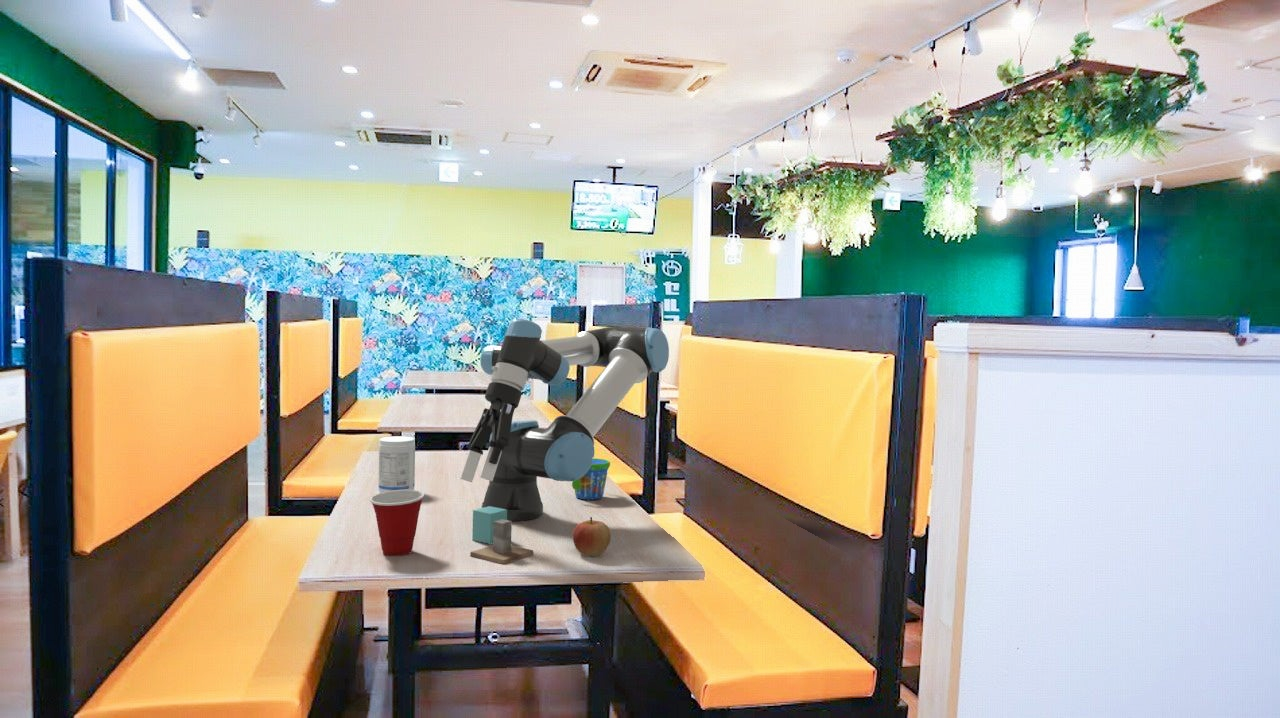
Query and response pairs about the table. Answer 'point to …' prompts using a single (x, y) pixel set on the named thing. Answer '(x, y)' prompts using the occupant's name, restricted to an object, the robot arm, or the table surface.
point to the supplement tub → (396, 463)
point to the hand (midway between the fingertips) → (475, 480)
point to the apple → (591, 537)
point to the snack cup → (592, 481)
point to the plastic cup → (397, 519)
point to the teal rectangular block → (486, 523)
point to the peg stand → (501, 545)
